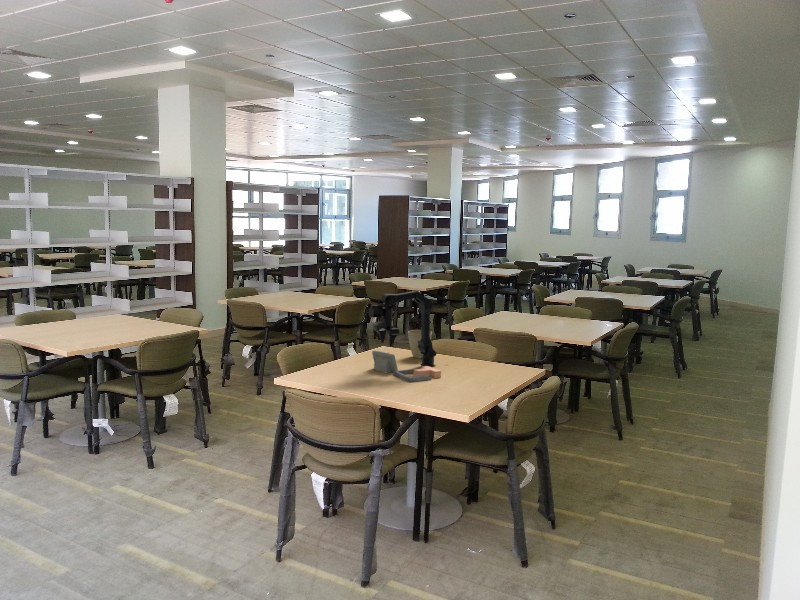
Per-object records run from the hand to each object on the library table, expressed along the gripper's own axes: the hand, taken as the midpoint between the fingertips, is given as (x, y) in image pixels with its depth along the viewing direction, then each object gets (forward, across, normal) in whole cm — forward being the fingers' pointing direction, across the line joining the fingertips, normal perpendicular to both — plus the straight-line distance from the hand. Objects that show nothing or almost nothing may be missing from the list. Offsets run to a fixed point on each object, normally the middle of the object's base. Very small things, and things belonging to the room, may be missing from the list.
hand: (386, 344), depth 355 cm
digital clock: (+15, 0, -1) cm, 15 cm away
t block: (+15, +20, +13) cm, 28 cm away
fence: (+15, +20, +5) cm, 25 cm away
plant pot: (+15, -22, +36) cm, 45 cm away
